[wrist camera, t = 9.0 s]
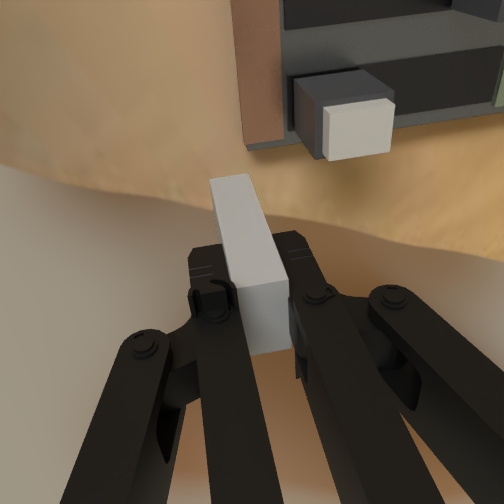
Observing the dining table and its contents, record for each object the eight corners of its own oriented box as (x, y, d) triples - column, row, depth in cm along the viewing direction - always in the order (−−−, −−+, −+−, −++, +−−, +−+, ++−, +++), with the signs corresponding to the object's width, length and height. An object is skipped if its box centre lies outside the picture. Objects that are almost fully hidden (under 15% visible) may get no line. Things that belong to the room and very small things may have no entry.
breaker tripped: (294, 131, 27) (320, 168, 23) (293, 79, 25) (321, 109, 21) (359, 121, 27) (396, 156, 23) (363, 69, 25) (403, 97, 21)
